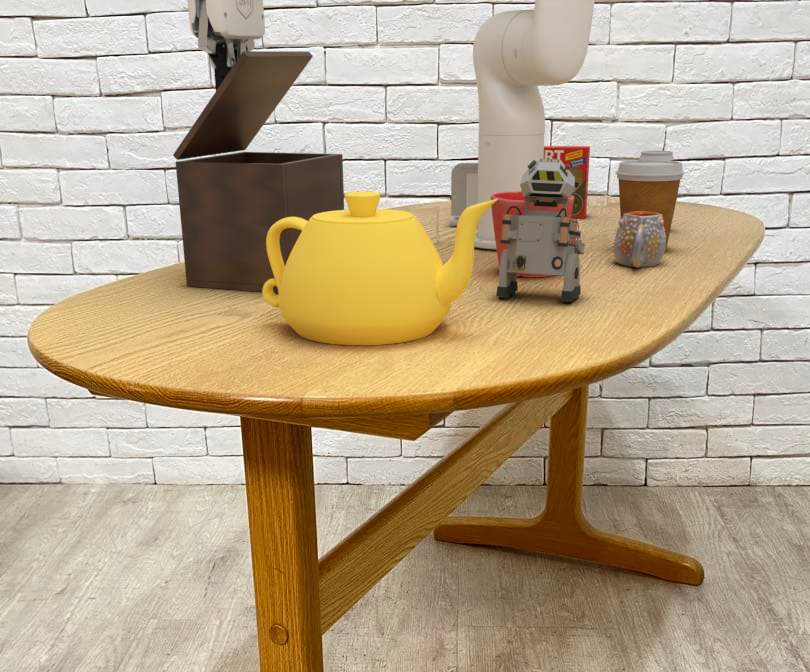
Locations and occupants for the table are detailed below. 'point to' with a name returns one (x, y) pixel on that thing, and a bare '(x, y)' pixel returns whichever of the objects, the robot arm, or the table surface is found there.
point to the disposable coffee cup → (650, 188)
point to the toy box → (574, 173)
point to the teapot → (367, 273)
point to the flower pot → (516, 200)
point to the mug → (640, 239)
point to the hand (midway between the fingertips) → (231, 103)
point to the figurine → (542, 232)
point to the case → (249, 211)
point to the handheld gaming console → (463, 189)
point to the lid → (243, 102)
